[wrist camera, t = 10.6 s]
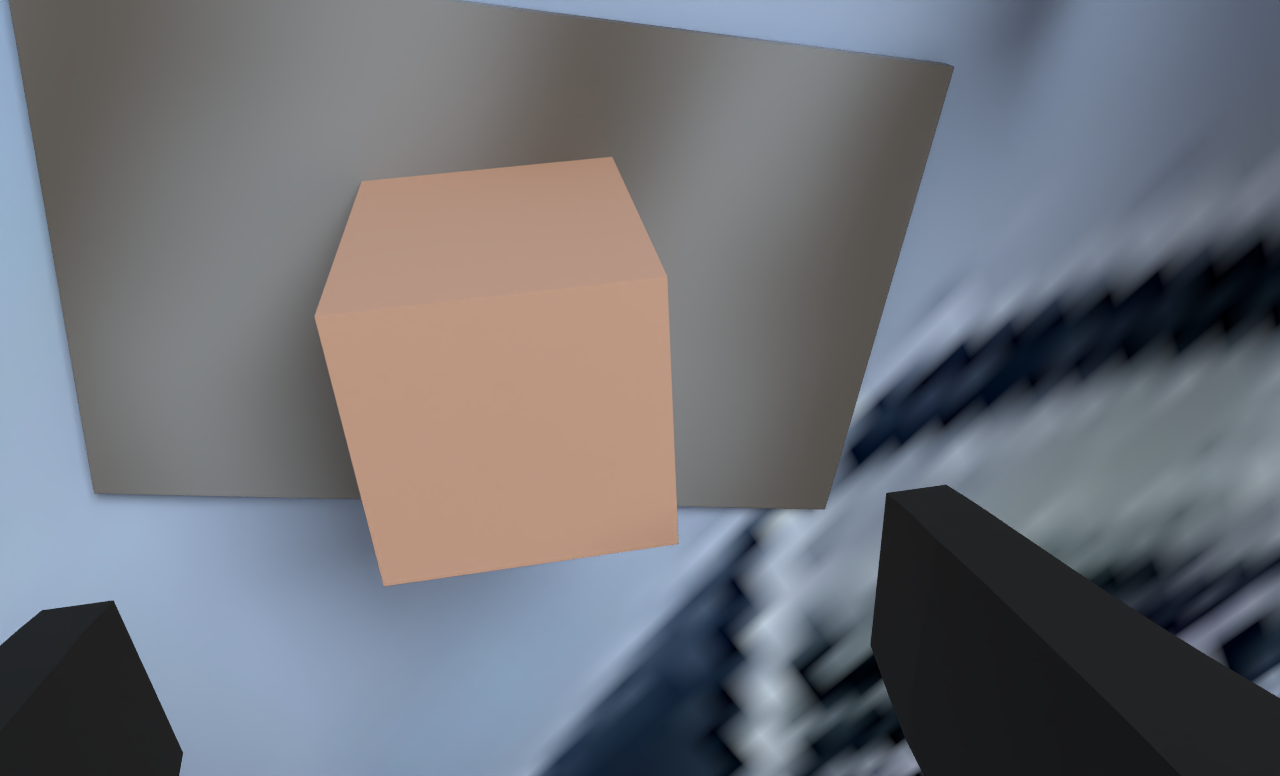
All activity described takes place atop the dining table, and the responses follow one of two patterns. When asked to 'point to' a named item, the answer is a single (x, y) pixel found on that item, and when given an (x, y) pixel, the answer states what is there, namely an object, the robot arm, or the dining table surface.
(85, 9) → the open box
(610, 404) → the terracotta block
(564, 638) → the dining table surface
